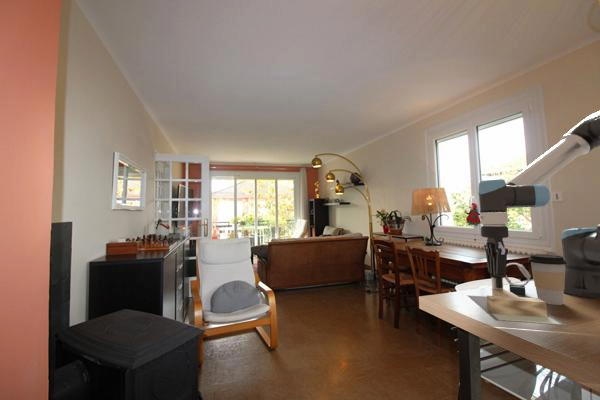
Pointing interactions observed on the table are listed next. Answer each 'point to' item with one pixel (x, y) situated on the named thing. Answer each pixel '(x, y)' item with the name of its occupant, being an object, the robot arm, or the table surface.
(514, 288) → the watch
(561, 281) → the coffee cup
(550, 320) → the mat
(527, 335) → the table surface
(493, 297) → the t block
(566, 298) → the table surface
